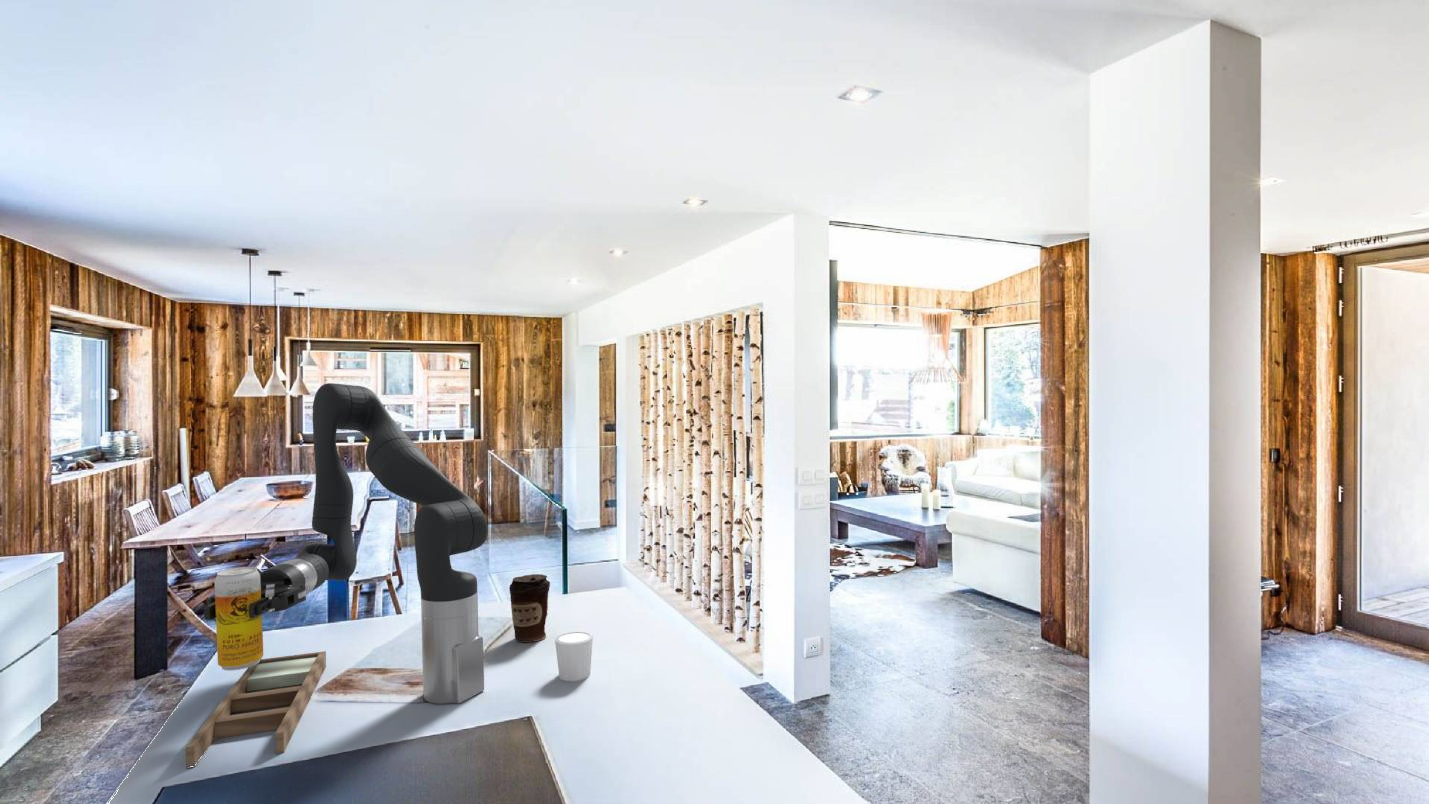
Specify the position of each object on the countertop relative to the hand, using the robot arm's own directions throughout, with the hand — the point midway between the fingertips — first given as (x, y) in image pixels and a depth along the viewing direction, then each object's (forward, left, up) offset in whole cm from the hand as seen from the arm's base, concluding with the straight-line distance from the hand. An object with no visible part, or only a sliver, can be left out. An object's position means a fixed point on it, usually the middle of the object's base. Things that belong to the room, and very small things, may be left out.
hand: (229, 612), depth 113 cm
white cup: (-36, -39, -19) cm, 57 cm away
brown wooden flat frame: (+3, -7, -18) cm, 20 cm away
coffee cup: (-15, -52, -19) cm, 57 cm away
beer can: (+1, -2, -9) cm, 10 cm away
